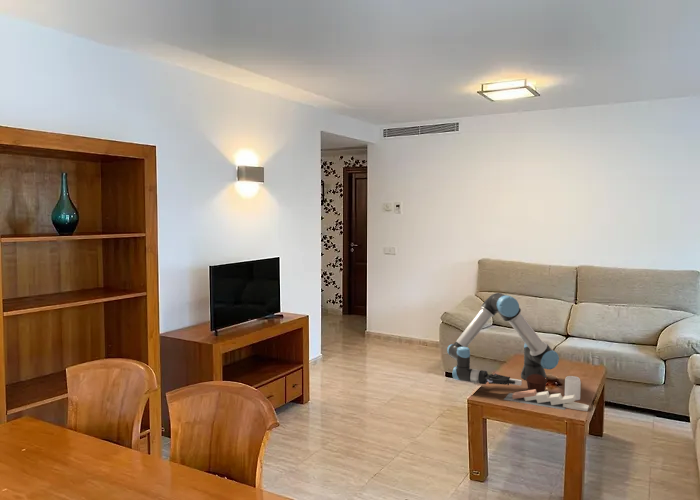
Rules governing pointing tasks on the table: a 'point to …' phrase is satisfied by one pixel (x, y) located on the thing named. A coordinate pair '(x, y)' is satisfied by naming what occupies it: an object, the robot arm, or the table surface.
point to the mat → (534, 402)
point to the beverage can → (572, 386)
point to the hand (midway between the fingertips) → (521, 382)
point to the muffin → (536, 382)
